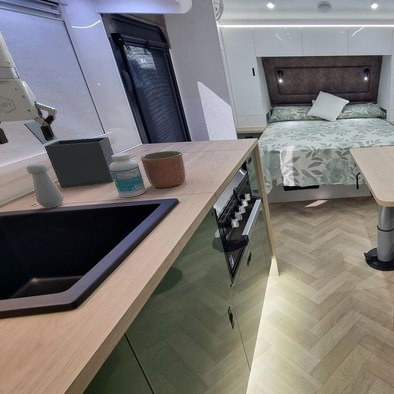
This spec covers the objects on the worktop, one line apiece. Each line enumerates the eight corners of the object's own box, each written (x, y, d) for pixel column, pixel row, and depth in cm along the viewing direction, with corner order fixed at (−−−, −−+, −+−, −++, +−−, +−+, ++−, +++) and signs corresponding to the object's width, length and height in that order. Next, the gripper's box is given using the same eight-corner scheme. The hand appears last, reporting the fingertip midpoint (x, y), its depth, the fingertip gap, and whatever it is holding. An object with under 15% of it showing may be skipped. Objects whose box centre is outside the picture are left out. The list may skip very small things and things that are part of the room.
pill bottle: (123, 191, 99) (110, 152, 94) (148, 188, 101) (137, 150, 96) (115, 199, 92) (101, 158, 87) (142, 196, 95) (130, 156, 90)
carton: (61, 188, 103) (44, 146, 97) (73, 179, 112) (58, 140, 106) (112, 181, 109) (99, 142, 103) (120, 174, 118) (108, 137, 112)
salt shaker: (67, 200, 92) (51, 160, 87) (66, 206, 88) (48, 164, 83) (41, 205, 88) (23, 164, 84) (39, 211, 84) (19, 168, 79)
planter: (175, 177, 114) (168, 149, 109) (195, 181, 108) (189, 152, 104) (141, 186, 103) (132, 156, 99) (162, 192, 98) (153, 161, 94)
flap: (43, 144, 97) (42, 144, 97) (57, 138, 106) (56, 139, 106) (24, 123, 93) (23, 123, 93) (41, 119, 103) (39, 120, 102)
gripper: (-63, 75, 68) (-25, 147, 74) (35, 74, 75) (61, 140, 81) (-40, 76, 74) (-7, 142, 81) (48, 75, 81) (72, 136, 87)
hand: (27, 141), depth 81 cm, fingers open, 9 cm apart
